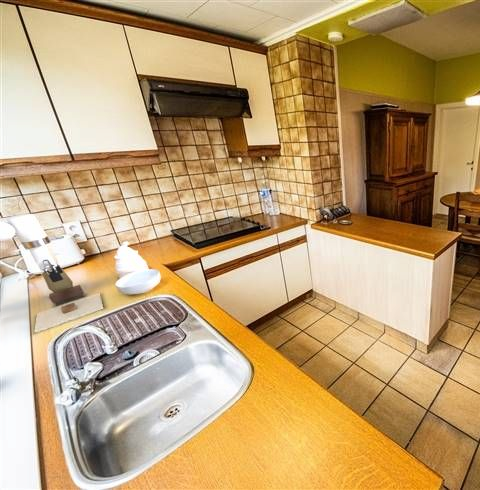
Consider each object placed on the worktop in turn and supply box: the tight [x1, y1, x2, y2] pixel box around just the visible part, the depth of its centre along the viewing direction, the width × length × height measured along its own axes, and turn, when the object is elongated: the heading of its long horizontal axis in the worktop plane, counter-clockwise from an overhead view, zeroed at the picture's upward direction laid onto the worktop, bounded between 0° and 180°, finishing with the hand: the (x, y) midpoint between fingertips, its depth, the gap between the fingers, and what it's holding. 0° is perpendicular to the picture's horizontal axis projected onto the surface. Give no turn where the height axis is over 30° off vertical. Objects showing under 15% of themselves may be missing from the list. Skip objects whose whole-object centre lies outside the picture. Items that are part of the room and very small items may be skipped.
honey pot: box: [113, 241, 150, 279], centre depth 143 cm, size 13×13×18 cm
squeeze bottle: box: [42, 267, 74, 293], centre depth 128 cm, size 8×8×18 cm
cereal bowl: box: [115, 268, 162, 296], centre depth 128 cm, size 17×17×7 cm
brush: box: [48, 284, 85, 307], centre depth 123 cm, size 10×3×6 cm, turn 137°
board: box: [34, 292, 105, 334], centre depth 115 cm, size 20×17×1 cm
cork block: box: [61, 302, 77, 314], centre depth 115 cm, size 4×4×2 cm
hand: (58, 277), depth 119 cm, fingers open, 9 cm apart
